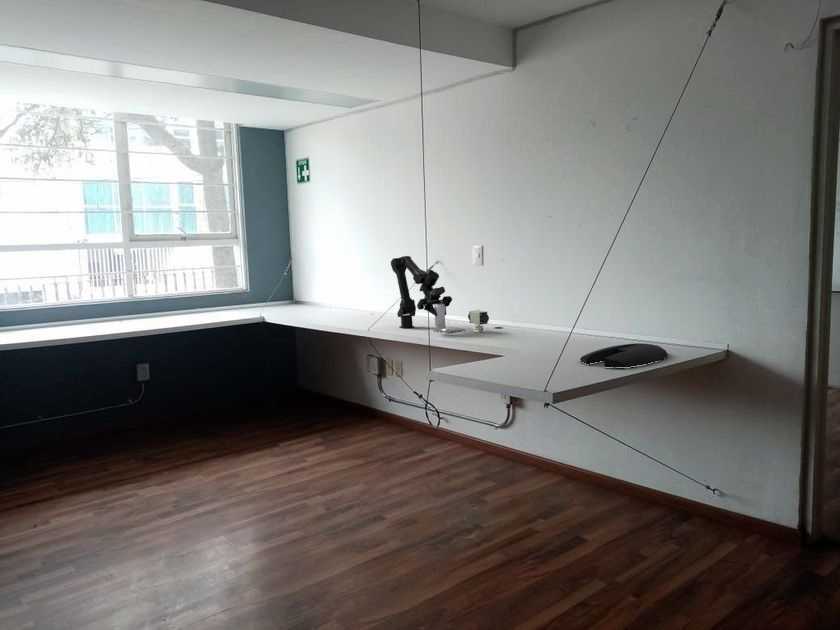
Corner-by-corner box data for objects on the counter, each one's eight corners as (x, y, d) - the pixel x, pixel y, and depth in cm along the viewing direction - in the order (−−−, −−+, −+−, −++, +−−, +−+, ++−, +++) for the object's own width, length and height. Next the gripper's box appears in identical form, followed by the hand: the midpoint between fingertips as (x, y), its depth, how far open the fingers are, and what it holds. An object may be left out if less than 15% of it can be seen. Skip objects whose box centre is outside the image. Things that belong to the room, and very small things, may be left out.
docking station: (683, 356, 274) (683, 344, 273) (623, 372, 249) (623, 359, 248) (629, 349, 293) (629, 337, 292) (569, 363, 268) (569, 351, 267)
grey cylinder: (432, 327, 349) (431, 304, 347) (440, 326, 353) (440, 303, 351) (439, 329, 345) (438, 305, 343) (448, 327, 348) (447, 304, 346)
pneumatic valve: (482, 334, 346) (482, 310, 344) (468, 331, 355) (467, 308, 354) (490, 332, 349) (490, 309, 347) (476, 330, 358) (475, 307, 357)
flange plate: (433, 331, 361) (433, 329, 361) (450, 328, 369) (450, 326, 369) (447, 333, 352) (447, 331, 352) (465, 330, 359) (465, 328, 359)
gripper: (419, 283, 344) (431, 306, 336) (449, 280, 353) (462, 303, 346) (411, 297, 352) (423, 320, 344) (442, 294, 361) (454, 317, 353)
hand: (441, 315), depth 346 cm, fingers closed on grey cylinder, 5 cm apart
